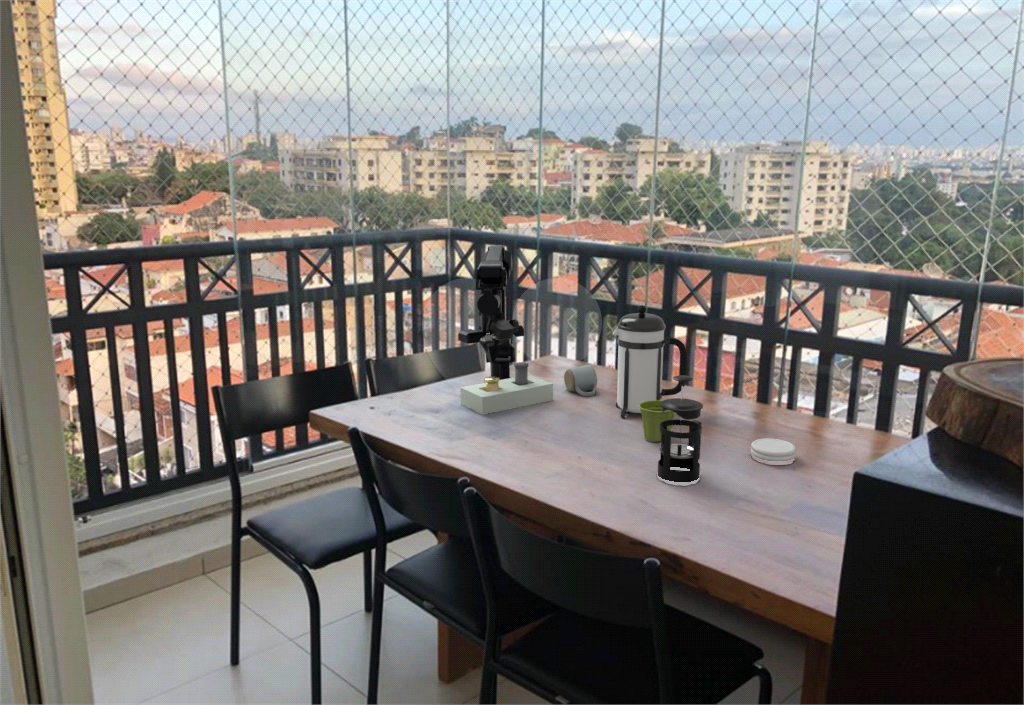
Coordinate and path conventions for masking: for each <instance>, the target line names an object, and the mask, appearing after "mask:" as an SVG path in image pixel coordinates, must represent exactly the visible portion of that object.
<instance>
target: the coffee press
mask: <svg viewBox="0 0 1024 705" xmlns="http://www.w3.org/2000/svg"><path fill="white" fill-rule="evenodd" d="M637 311H638V312H637V313H635V312H634V313H628V314H625V315H623V316H622V317H621V318H620V319H619V322H618V323H617V326H616V327H615V329H614V330H613V332H612V336H618V337H617V345H618V348H617V349H618V351H617V353H618V355H617V356H618V357H617V384H616V385H617V386H616V387H617V388H616V389H617V390H616V391H617V392H616V393H617V395H616V396H617V397H616V398H617V399H616V403H615V407H616V408H617V409H621V413H620V418H622V419H625V418H626V419H627V418H628V417H629V415H630V414H632V413H635V414H637V413H638V414H642V413H641V410H640V408H639V404H640V403H642V402H645V401H653V400H658V401H662V398H663V397H665V396H673V395H677V394H678V393H680V392H681V389H682V386H680V381H677V384H676V385H675V386H674V387H672V388H665V389H664V388H663V387H662V386H663V385H662V384H663V368H664V367H663V365H664V363H663V362H664V346H665V345H673V346H676V347H677V348H678V350H679V365H678V366H679V370H678V375H685V376H687V368H688V367H687V366H688V365H687V364H688V363H687V362H688V358H687V357H688V354H687V348H686V346H685V344H684V342H682V340H680V339H679V338H676V337H666V338H665V330H666V328H667V327H666V326H667V325H666V324H665V323H664V319H663V318H662V317H660V316H658V315H657V314H653V313H647V312H646V311H647V308H646V306H645V305H643V304H641V305H639V306H638V308H637ZM684 387H685V386H683V388H684Z"/></svg>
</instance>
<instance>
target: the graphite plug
mask: <svg viewBox="0 0 1024 705" xmlns="http://www.w3.org/2000/svg"><path fill="white" fill-rule="evenodd" d="M513 367H514V377H515V384H516V385H518V386H521V385H526V384H528V375H529V374H528V372H529V371H528V369H529V368H528V367H529V363H528V362H524V361H521V362H520V361H518V362H514V363H513Z"/></svg>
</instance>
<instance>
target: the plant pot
mask: <svg viewBox="0 0 1024 705" xmlns="http://www.w3.org/2000/svg"><path fill="white" fill-rule="evenodd" d="M662 401H663V400H661V401H658V400H653V401H645V402H642V403H640V404H639V408H640V410H641V413H640V414H641V419H642V428H643V436H644V437H643V438H644V439H645V440H646V439H647V440H646V441H648V440H650V441H649V442H651V441H657V442H660V441H661V433H660V431H659V428H660V423H661V422H663V421H666V420H673V419H674V415H675V414H676V413H675V412H673V411H671V410H665V411H664V412H663V413H662V407H661V405H660V403H661V402H662ZM672 426H673V425H671V426H667V430H669V431H672Z"/></svg>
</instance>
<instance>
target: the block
mask: <svg viewBox="0 0 1024 705" xmlns="http://www.w3.org/2000/svg"><path fill="white" fill-rule="evenodd" d="M498 383H499V390H495V391H489V392H486V382H482V383H475V384H472V385H465V386H460V390H459V392H460V405H462V406H464V407H466V408H468V409H470V410H472V411H473V412H476V413H478V414H480V415H488V413H489V414H492V413H493V412H494V413H498V412H502V410H503V411H507V410H506V409H508V410H511V409H510V408H513V409H516V408H515V407H518V408H522V406H523V407H527V406H532V405H535V404H536V403H537V404H542V403H545V402H546V401H547V402H550V401H551V402H552V401H554V383H552V382H551V381H550V382H549V381H547V380H545V379H541V378H539V377H537V376H534V375H531V374H528V384H526V385H521V386H518V385H516V384H515V376H514V377H511V378H509V379H503V380H500V381H498ZM541 402H542V403H541ZM547 402H546V403H547ZM531 404H532V405H531ZM537 404H536V405H537ZM497 411H498V412H497Z"/></svg>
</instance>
